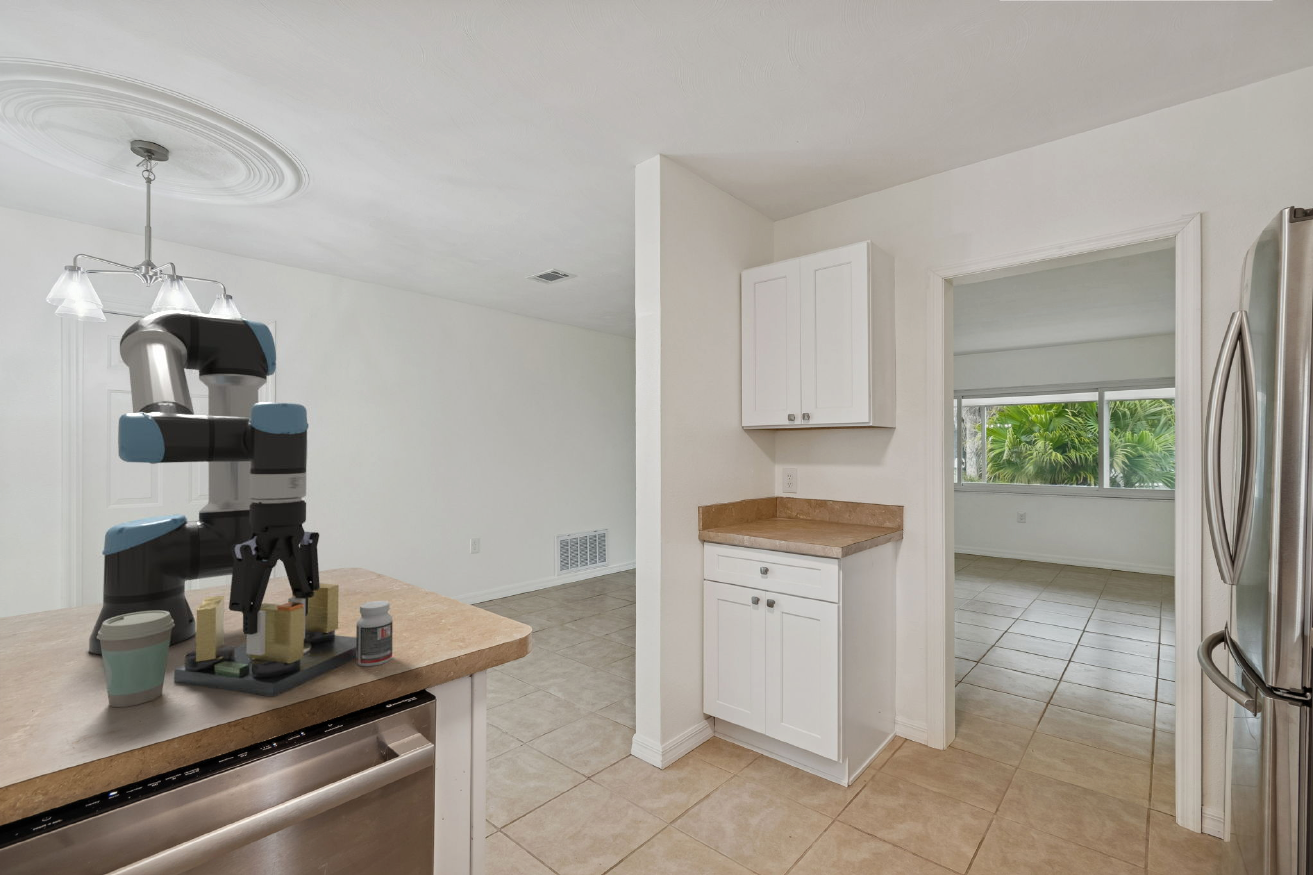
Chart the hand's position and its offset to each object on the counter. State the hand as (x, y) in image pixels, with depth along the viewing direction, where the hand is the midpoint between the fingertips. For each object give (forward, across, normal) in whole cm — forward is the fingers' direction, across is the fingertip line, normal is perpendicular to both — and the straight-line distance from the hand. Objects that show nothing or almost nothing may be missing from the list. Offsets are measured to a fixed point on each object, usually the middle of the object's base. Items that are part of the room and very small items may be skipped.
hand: (276, 645), depth 91 cm
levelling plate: (+6, +6, +6) cm, 10 cm away
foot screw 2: (+4, +13, +6) cm, 15 cm away
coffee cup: (+6, -10, +15) cm, 19 cm away
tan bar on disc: (+4, 0, 0) cm, 4 cm away
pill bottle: (+6, +12, -8) cm, 16 cm away
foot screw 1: (+4, -1, +12) cm, 13 cm away
